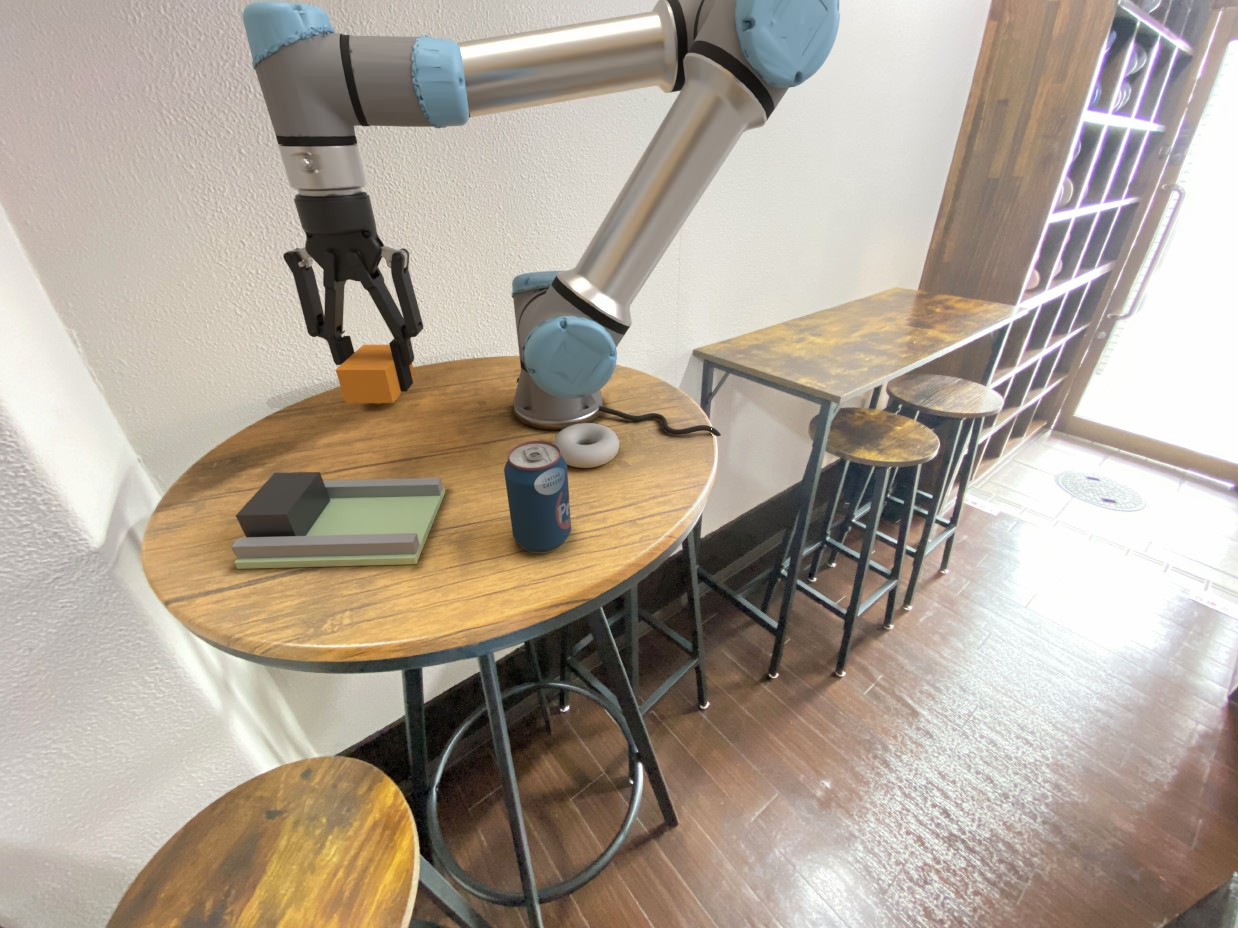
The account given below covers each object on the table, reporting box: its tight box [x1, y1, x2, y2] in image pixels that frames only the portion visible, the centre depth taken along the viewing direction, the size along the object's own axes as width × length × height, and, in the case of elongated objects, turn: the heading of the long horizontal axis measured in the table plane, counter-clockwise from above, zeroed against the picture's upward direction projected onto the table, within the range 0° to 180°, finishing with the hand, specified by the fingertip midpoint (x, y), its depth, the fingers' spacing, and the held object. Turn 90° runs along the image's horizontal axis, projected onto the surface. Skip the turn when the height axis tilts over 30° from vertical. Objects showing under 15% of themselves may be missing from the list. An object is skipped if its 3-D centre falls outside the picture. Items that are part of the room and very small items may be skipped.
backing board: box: [230, 471, 446, 570], centre depth 65 cm, size 20×14×6 cm
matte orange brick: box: [335, 344, 416, 404], centre depth 69 cm, size 6×9×4 cm
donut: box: [552, 422, 621, 469], centre depth 80 cm, size 10×4×10 cm
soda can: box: [503, 440, 572, 555], centre depth 61 cm, size 7×7×12 cm
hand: (381, 386), depth 70 cm, fingers closed on matte orange brick, 6 cm apart
